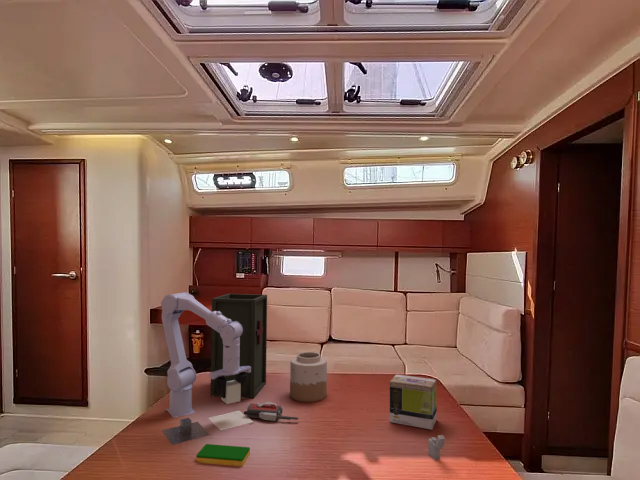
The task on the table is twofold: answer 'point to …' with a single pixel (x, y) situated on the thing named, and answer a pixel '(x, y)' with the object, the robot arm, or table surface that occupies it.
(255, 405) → the chainsaw
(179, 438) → the post base
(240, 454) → the dish sponge
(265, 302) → the dark green tall box
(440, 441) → the lighter
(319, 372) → the vase
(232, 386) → the pale grey cube box
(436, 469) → the table surface
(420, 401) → the tea box
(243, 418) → the mat
